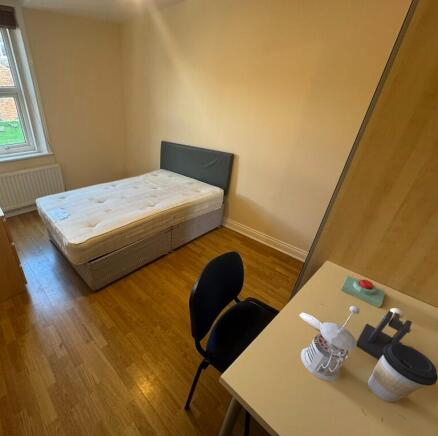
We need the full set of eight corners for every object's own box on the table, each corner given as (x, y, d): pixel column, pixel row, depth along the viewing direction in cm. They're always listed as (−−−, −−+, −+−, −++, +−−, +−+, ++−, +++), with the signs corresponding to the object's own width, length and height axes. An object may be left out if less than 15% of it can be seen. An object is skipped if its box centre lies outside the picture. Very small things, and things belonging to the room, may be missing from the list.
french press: (338, 358, 70) (378, 302, 58) (341, 395, 62) (388, 339, 50) (301, 341, 75) (331, 286, 63) (299, 374, 67) (332, 318, 54)
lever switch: (387, 312, 79) (393, 305, 78) (400, 319, 77) (406, 311, 76) (385, 325, 69) (391, 317, 68) (399, 333, 67) (406, 324, 66)
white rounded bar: (322, 335, 77) (325, 329, 76) (297, 318, 83) (300, 313, 81) (326, 330, 79) (329, 324, 77) (301, 313, 84) (304, 308, 83)
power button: (372, 286, 91) (374, 282, 90) (370, 291, 88) (372, 287, 88) (360, 281, 93) (362, 278, 92) (358, 285, 91) (360, 282, 90)
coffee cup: (359, 392, 63) (387, 361, 55) (360, 364, 69) (385, 333, 61) (407, 420, 57) (446, 391, 50) (404, 387, 63) (438, 357, 56)
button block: (382, 295, 91) (387, 287, 89) (379, 308, 86) (384, 300, 84) (345, 279, 99) (349, 272, 97) (340, 290, 94) (344, 282, 92)
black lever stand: (364, 326, 80) (383, 300, 73) (400, 346, 73) (424, 320, 67) (354, 345, 74) (373, 319, 68) (392, 368, 68) (417, 342, 61)
